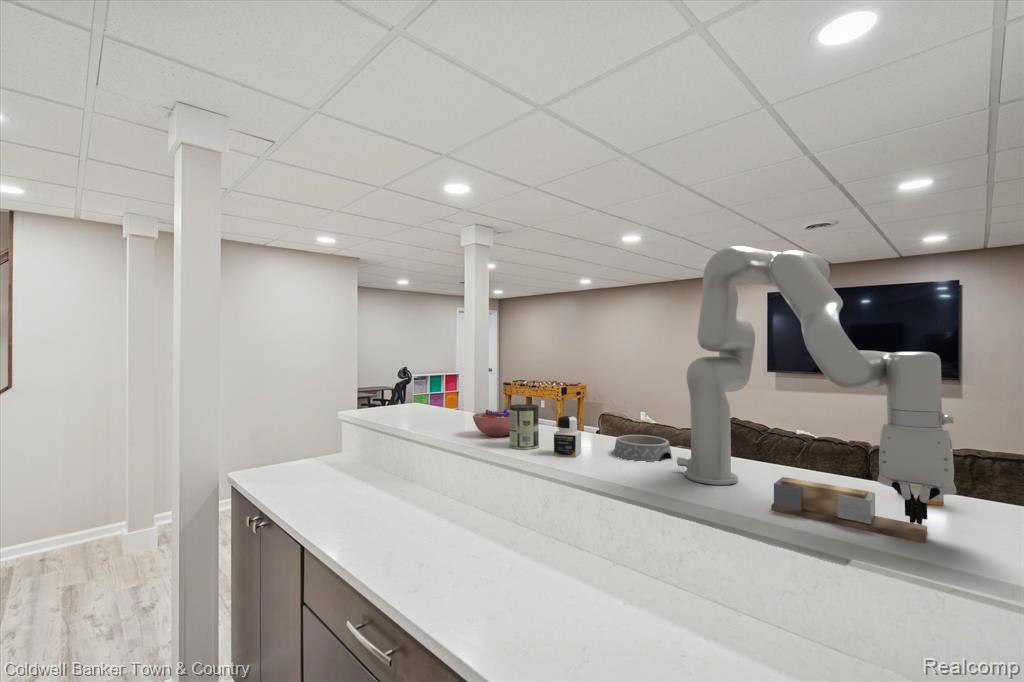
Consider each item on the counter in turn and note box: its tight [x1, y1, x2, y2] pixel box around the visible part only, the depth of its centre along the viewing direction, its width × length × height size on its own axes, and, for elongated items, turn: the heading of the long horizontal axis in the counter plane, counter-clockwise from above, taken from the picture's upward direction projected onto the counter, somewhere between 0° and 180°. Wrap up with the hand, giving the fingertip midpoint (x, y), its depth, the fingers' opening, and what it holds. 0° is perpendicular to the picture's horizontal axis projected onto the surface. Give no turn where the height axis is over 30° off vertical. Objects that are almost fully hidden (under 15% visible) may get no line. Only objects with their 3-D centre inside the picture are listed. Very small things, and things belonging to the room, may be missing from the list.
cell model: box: [472, 405, 510, 437], centre depth 180 cm, size 17×20×11 cm
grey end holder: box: [773, 476, 803, 511], centre depth 97 cm, size 5×7×4 cm
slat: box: [781, 477, 868, 516], centre depth 93 cm, size 14×4×5 cm, turn 46°
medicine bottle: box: [553, 415, 582, 458], centre depth 148 cm, size 7×7×12 cm
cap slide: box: [838, 490, 876, 524], centre depth 89 cm, size 5×7×4 cm
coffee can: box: [508, 403, 540, 451], centre depth 160 cm, size 10×10×14 cm
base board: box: [770, 502, 928, 544], centre depth 91 cm, size 24×7×1 cm, turn 46°
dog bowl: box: [612, 434, 673, 463], centre depth 147 cm, size 17×18×5 cm
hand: (916, 521), depth 83 cm, fingers closed
